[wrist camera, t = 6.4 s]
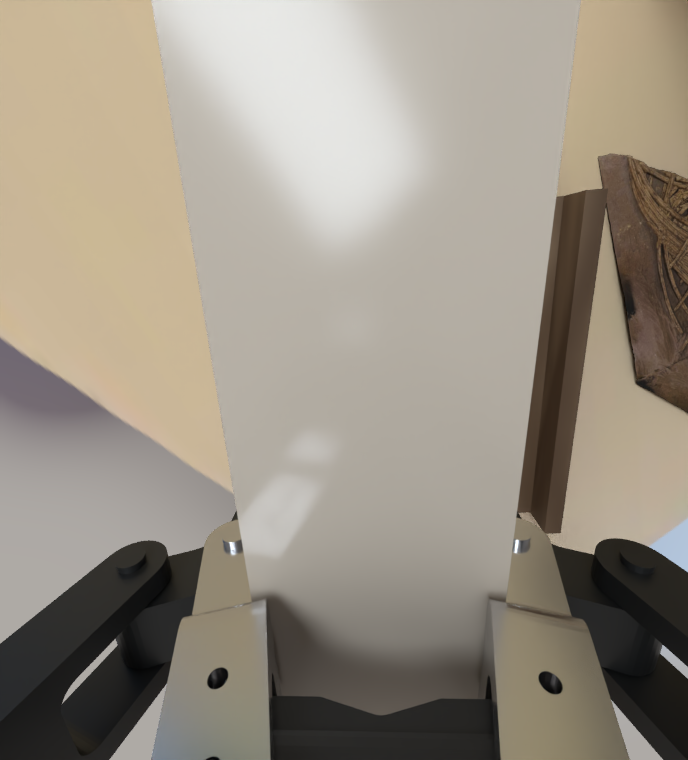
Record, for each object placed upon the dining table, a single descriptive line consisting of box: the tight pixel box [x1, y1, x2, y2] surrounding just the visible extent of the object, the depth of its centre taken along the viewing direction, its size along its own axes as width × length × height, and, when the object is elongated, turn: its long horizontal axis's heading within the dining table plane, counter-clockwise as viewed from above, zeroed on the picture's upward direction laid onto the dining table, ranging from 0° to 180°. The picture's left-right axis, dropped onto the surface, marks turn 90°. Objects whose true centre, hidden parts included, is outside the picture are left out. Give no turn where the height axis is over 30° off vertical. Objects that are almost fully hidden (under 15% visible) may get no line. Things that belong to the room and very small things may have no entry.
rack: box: [517, 188, 608, 533], centre depth 27 cm, size 16×24×4 cm, turn 4°
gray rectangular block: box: [151, 0, 581, 715], centre depth 10 cm, size 4×20×8 cm, turn 3°
